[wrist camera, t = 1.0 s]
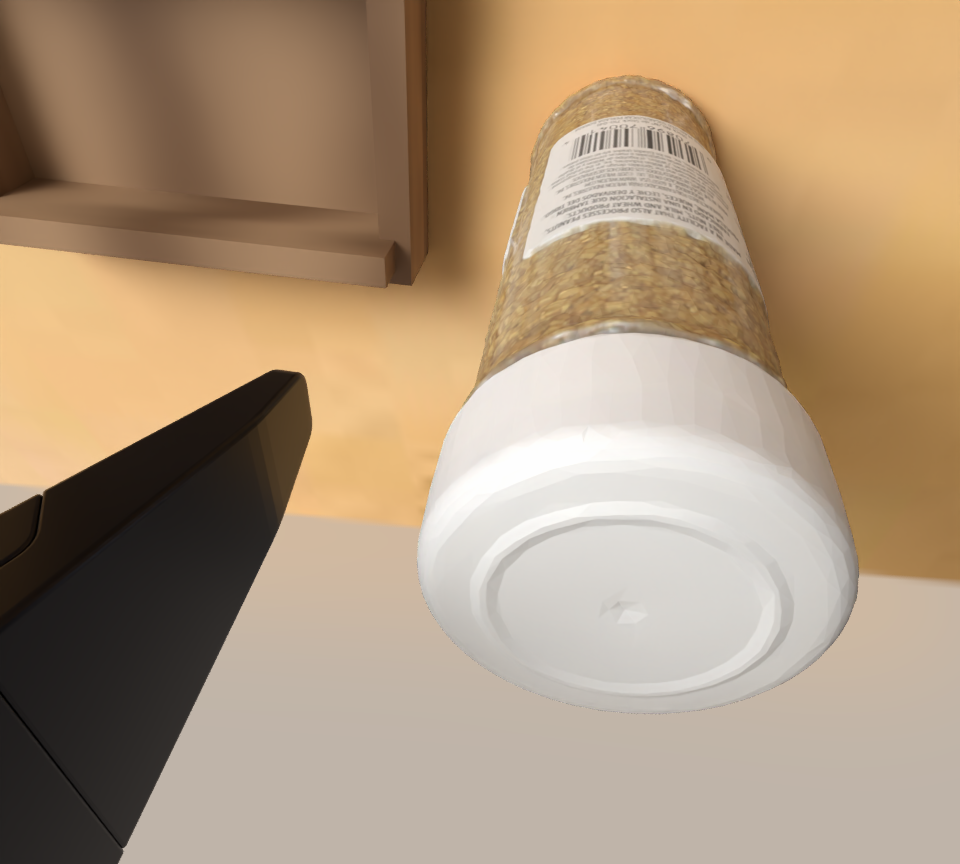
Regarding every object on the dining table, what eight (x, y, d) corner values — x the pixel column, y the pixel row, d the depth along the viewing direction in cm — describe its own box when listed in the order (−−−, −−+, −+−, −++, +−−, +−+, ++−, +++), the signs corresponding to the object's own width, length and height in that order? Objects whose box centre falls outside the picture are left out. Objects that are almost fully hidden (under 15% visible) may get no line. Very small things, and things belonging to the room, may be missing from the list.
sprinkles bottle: (505, 213, 19) (360, 651, 8) (579, 34, 16) (498, 368, 5) (658, 280, 19) (700, 770, 9) (758, 118, 16) (994, 569, 6)
